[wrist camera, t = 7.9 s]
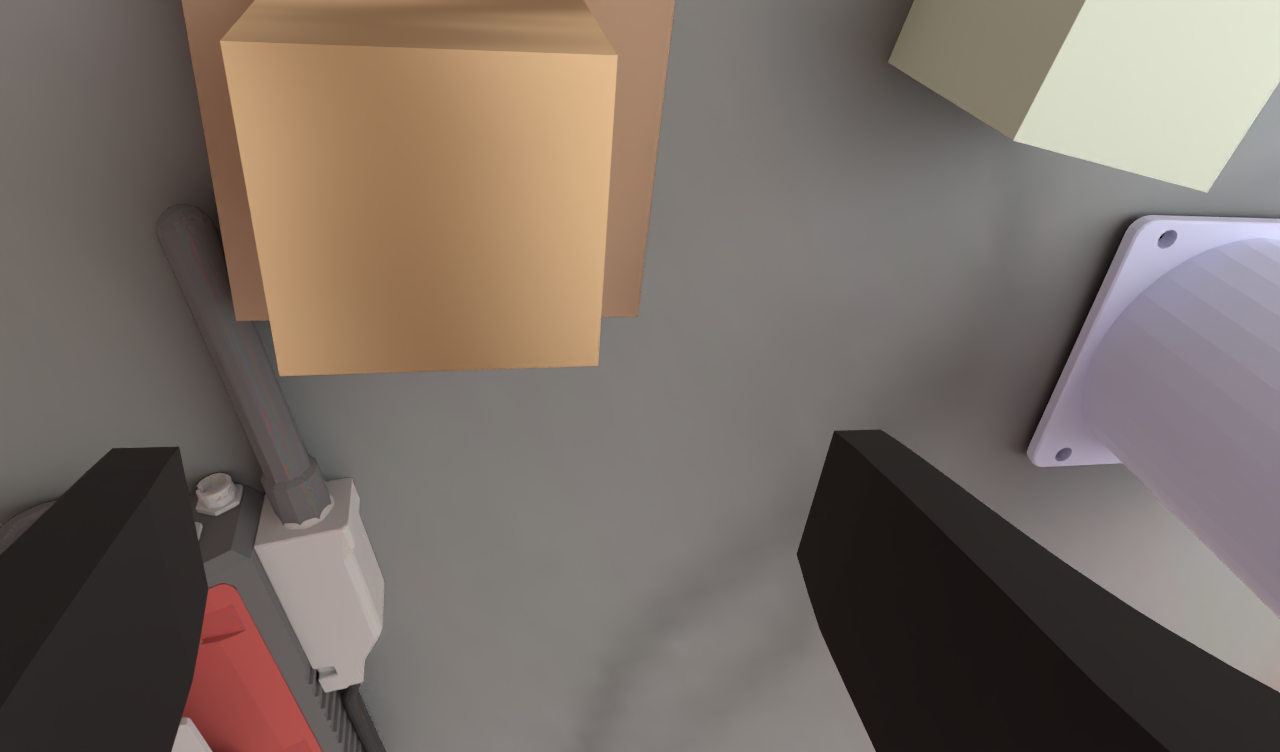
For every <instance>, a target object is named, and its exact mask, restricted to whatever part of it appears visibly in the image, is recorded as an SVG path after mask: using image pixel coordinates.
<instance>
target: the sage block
mask: <svg viewBox="0 0 1280 752" xmlns="http://www.w3.org/2000/svg"><path fill="white" fill-rule="evenodd" d="M888 63H889V64H891V65H893V66H894V67H896V68H897V69H899V70H901V71H902V72H904V73H905V74H907V75H909V76H910V77H912V78H913V79H915V80H917V81H918V82H920V83H921V84H923V85H925V86H926V87H928V88H930V89H931V90H933V91H934V92H936V93H938V94H939V95H941V96H942V97H944V98H946V99H947V100H949V101H950V102H952V103H954V104H955V105H957V106H958V107H960V108H962V109H963V110H965V111H966V112H968V113H970V114H971V115H973V116H974V117H976V118H978V119H979V120H981V121H982V122H984V123H986V124H987V125H989V126H991V127H992V128H994V129H995V130H997V131H999V132H1000V133H1002V134H1003V135H1005V136H1007V137H1008V138H1010V139H1011V140H1013V141H1017V142H1020V143H1024V144H1028V145H1031V146H1035V147H1039V148H1043V149H1046V150H1050V151H1054V152H1058V153H1061V154H1065V155H1069V156H1073V157H1076V158H1080V159H1084V160H1088V161H1091V162H1095V163H1099V164H1103V165H1106V166H1110V167H1114V168H1117V169H1121V170H1125V171H1129V172H1132V173H1136V174H1140V175H1144V176H1147V177H1151V178H1155V179H1159V180H1162V181H1166V182H1170V183H1174V184H1177V185H1181V186H1185V187H1188V188H1192V189H1196V190H1200V191H1203V192H1208V190H1209V189H1210V187H1211V186H1212V184H1213V183H1214V181H1215V180H1216V178H1217V177H1218V175H1219V173H1220V172H1221V170H1222V169H1223V167H1224V166H1225V164H1226V163H1227V161H1228V160H1229V158H1230V157H1231V155H1232V154H1233V152H1234V150H1235V149H1236V147H1237V146H1238V144H1239V143H1240V141H1241V140H1242V138H1243V137H1244V135H1245V134H1246V132H1247V131H1248V129H1249V127H1250V126H1251V124H1252V123H1253V121H1254V120H1255V118H1256V117H1257V115H1258V114H1259V112H1260V111H1261V109H1262V108H1263V106H1264V105H1265V103H1266V101H1267V100H1268V98H1269V97H1270V95H1271V94H1272V92H1273V91H1274V89H1275V88H1276V86H1277V85H1278V83H1279V82H1280V0H914V2H913V4H912V6H911V9H910V11H909V13H908V16H907V18H906V20H905V23H904V25H903V28H902V30H901V32H900V35H899V37H898V39H897V42H896V44H895V46H894V49H893V51H892V54H891V56H890V58H889V61H888Z"/></svg>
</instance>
